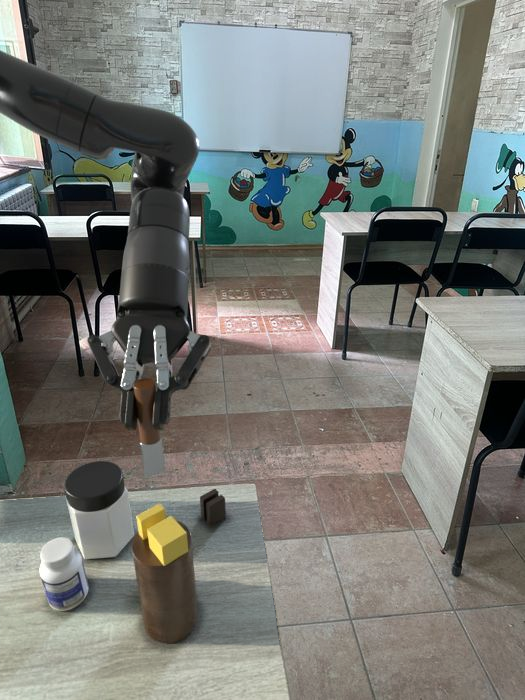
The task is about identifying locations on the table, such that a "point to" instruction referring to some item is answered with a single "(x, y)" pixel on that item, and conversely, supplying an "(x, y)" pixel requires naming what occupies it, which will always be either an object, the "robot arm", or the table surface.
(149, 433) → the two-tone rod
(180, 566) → the butter stand
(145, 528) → the block
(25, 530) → the table surface
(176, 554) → the butter block
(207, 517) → the knife stand
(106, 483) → the jar
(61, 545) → the pill bottle
